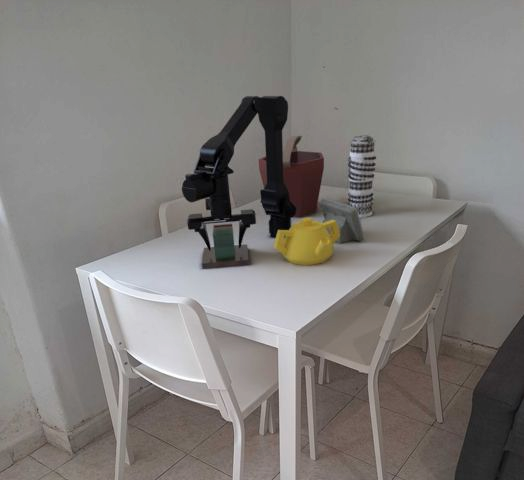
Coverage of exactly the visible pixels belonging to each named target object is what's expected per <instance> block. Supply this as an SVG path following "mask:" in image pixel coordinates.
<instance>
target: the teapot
mask: <svg viewBox="0 0 524 480" xmlns="http://www.w3.org/2000/svg"><path fill="white" fill-rule="evenodd" d="M329 227H330V230H331V234H330V235H329V233H328V231H327V230H326V229H327V228H329ZM284 235H285V237H284ZM339 237H340V232H339V229H338V226H337V223H336V221H335V220H333V219H332V220H330V221H327V222H324V223H322V222H320V221H316V220H313V218H312V217H303V218H301V221H297V222H294V223H292V224H291V228H290V229H289V230H278V231H277V235H276V237H275V240H274V242H273V248H274V249H275V250H277V251H278V252H280V253H281V254H282V255H283V257H284V258H285V259H287V261H288V262H290V263H291V264H294V265H299V266H313V265H318V264H322V263H325V262H327V260H328V259H330V257H332V255H333V253H334V244H335V243H336V242H337V241H336V240H337V239H338V238H339Z"/></svg>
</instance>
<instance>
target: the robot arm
mask: <svg viewBox="0 0 524 480" xmlns="http://www.w3.org/2000/svg"><path fill="white" fill-rule="evenodd" d="M288 114H289V103H288V100H287V99H286V98H285V96H283V95H262V96H261V97H260V96H257V95H246V96H244V97H243V98H242V99H241V102H240V104H239V106H238V107H237V108H236V110H235V111H234V112H233V114H232V115H231V116H230V118H229V119H228V121H226V124H225V125H224V126H223V128H222V129H221V130H220V131H219V132H218V134H216V135H214V136H212V137H209V139H208V140H206V141H205V143H203V144H202V146H201V147H200V149H199V155H198V158H197V161H196V163H195V166H194V169H193V173H187V174H185V179H184V180H183V182H182V187H181V193H182V195H183V197H184V199H185V201H187V202H188V203H195V202H199V201H201V200H204V201H205V203H204V204H205V210H206V211H210V216H203V213H202V212H199V213H189V215H188V216H187V219H186V224H187V229H188V230H194V232H195V233H198V234H199V236H200V237H201V238H202V240H203V241H204V243H205V246H206V248H207V247H208V249H209V251H211V247H212V246H211V242H210V238H209V233H208V230H207V225H209V224H220V223H221V224H224V223H232V222H233V223H235V222H238V245H239V248H241V245H243V240H244V236H245V234H246V231H247V229H250V228H251V225H256V224H257V219H256V218H257V217H256V211H255V210H254V209H252V208H250V209H240V213H237V214H235V213H234V214H233V212H232V211H233V210H232V204H231V192H230V184H229V182H230V181H229V175H232V174H234V169H232V168H231V167H230V166H229V164H230V162H231V161H232V158H233V156H234V155H235V147H236V144H237V143H238V141H239V140H240V138H241V137H242V135H243V134H244V133H245V132H246V130H247V129H248V127H249V125H251V123H252V122H253V120H254V119H255V117H256V116H258V121H259V123H260V125H261V127H262V129H263V130H264V143H265V145H264V146H265V156H266V171H267V184H266V186H265V188H264V187H263V188H262V189H260V202H259V203H260V204H261V206H262V209H263V210H264V214H265V215H266V216H270V217H269V220H268V233H269V237H270V238H276V235H277V231H278V230H289V229H290V228H291V226H292V218H294V217H293V216H294V215H296V209H297V208H296V207H295V206H294V205H293V204H292V202H291V201H290V198H289V191H288V189H287V188H286V186H285V184H284V181H283V150H284V148H283V147H284V146H283V129H284V127H285V125H286V123H287V121H288ZM284 238H285V235H284Z"/></svg>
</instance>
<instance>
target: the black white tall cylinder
mask: <svg viewBox="0 0 524 480" xmlns="http://www.w3.org/2000/svg"><path fill="white" fill-rule="evenodd" d="M375 142H376V140H374V138H373V136H371V135H367V134H364V135H363V134H362V135H356V136H354V137H353V138H352V140H351V141H349V143H350V151H349V157H348V158H347V162H348V163H347V166H348V170H347V172H348V175H347V177H348V178H347V179H348V181H349V188H348V193H347V197H348V198H347V201H348V202H347V204H346V205H349V206H352V207H355V208H356V209H357V211H358V215H359V218H367V217H370V216H372V215H373V212H372V211H373V205H374V203H373V200H374V198H373V196H374V192H373V191H374V190H373V189H374V187H373V181H374V180H375V174H374V171H376V167H375V166H376V163H375V162H374V161H375V160H376V159H377V156H376V152H375V151H376V150H375Z"/></svg>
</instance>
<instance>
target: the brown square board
mask: <svg viewBox="0 0 524 480" xmlns="http://www.w3.org/2000/svg"><path fill="white" fill-rule="evenodd" d="M210 247H211V251H209V249H208V247H207V246H206V247H203V252H202V260H201V268H202V269H214V268H215V269H216V268H228V267H229V268H230V267H241V266H250V261H249V259H250V258H249V249H248V244H246V243H245V244H241V248H239V244H234V247H235V258H231V259H219V260H216V258H215V250H214V246H210Z"/></svg>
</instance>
